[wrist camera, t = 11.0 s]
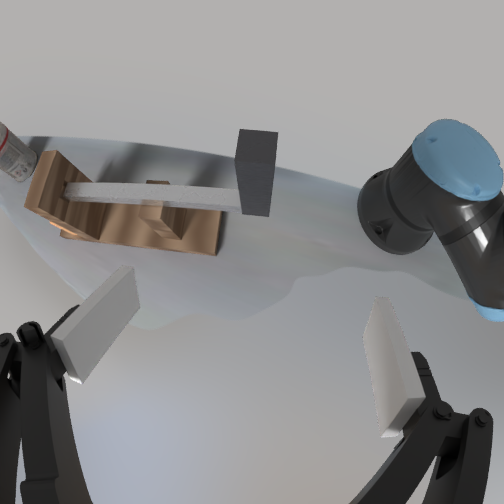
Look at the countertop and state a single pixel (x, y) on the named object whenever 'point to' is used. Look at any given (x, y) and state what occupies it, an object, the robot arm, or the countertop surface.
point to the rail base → (118, 214)
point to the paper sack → (15, 156)
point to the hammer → (242, 201)
